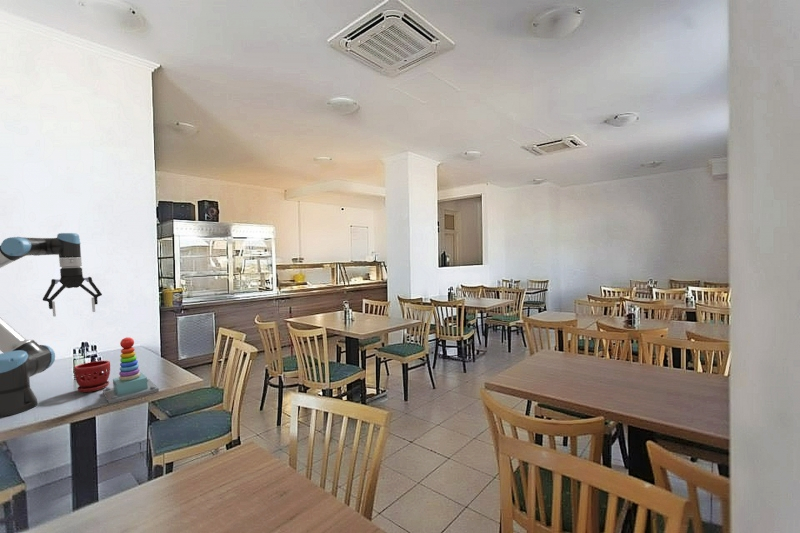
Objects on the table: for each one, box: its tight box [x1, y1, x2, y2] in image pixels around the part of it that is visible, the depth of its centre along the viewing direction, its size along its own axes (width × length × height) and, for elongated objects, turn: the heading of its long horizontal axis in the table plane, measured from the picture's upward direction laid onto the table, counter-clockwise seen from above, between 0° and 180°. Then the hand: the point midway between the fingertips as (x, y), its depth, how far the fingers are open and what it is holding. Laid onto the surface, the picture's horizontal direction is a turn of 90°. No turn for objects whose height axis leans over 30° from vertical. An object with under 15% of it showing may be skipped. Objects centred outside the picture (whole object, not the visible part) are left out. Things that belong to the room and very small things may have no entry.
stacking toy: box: [118, 336, 141, 381], centre depth 170 cm, size 8×8×19 cm
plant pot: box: [73, 360, 111, 393], centre depth 177 cm, size 13×13×12 cm
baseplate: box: [102, 372, 160, 405], centre depth 170 cm, size 18×18×6 cm
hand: (74, 313), depth 170 cm, fingers open, 13 cm apart
